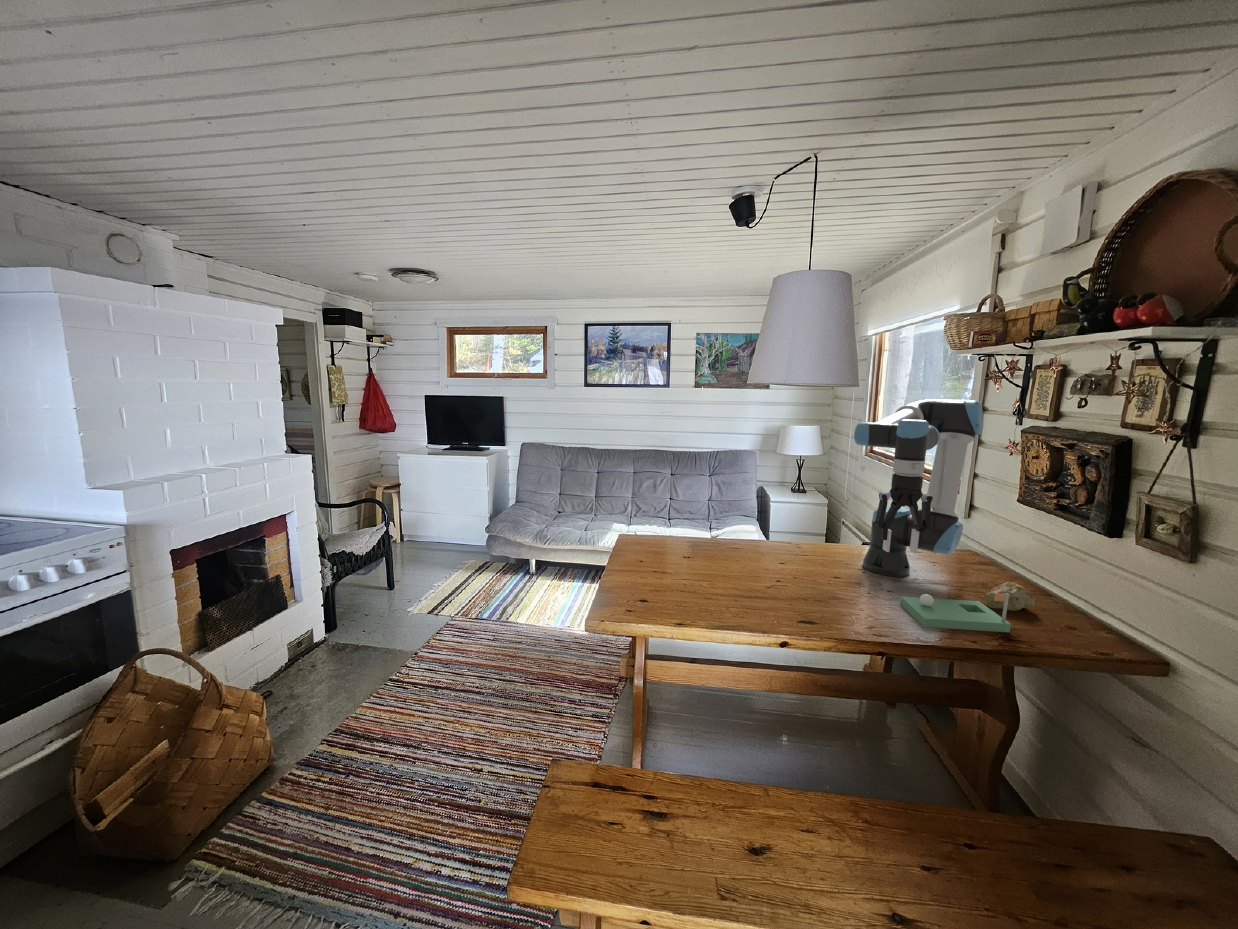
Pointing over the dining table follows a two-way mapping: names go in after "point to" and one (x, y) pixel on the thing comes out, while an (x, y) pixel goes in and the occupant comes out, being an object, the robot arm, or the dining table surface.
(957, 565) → the dining table surface
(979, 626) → the green
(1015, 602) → the rock
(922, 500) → the robot arm
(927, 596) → the ball
